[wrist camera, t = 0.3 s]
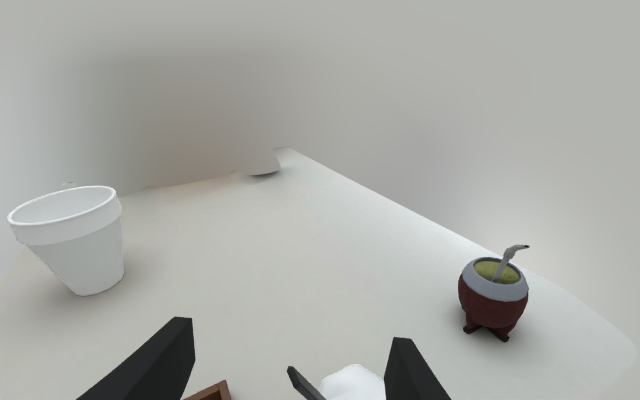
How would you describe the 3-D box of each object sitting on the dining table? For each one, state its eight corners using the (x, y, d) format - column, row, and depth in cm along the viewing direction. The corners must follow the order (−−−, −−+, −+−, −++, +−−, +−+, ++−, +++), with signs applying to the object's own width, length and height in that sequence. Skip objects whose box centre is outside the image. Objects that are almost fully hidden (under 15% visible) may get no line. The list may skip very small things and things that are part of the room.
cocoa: (394, 395, 31) (402, 302, 25) (417, 472, 25) (435, 373, 20) (297, 406, 30) (286, 314, 25) (299, 488, 24) (286, 391, 19)
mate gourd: (479, 295, 42) (502, 195, 36) (537, 337, 36) (578, 224, 29) (437, 314, 40) (454, 210, 33) (492, 364, 33) (526, 246, 27)
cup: (69, 266, 52) (34, 192, 47) (149, 251, 56) (125, 180, 50) (33, 319, 42) (-19, 232, 36) (133, 297, 45) (101, 213, 39)
